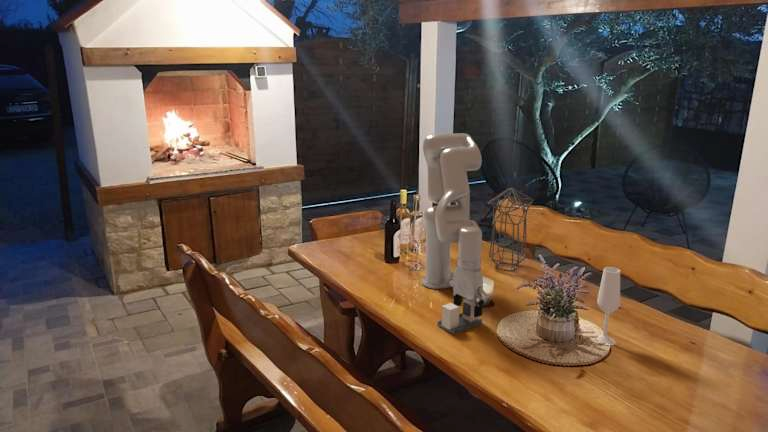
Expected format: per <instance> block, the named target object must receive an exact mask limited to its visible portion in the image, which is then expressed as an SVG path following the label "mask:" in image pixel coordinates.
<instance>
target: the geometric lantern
mask: <svg viewBox="0 0 768 432" xmlns="http://www.w3.org/2000/svg"><path fill="white" fill-rule="evenodd" d="M511 194H512V195H513V196H511ZM521 195H522V196H523V197H522V196H521ZM502 197H504V198H503V199H502V201H501V202H500V200H501V198H502ZM511 199H513V200H514V201H513V200H511ZM505 200H507V201H506V205H504V206H503V205H502V204H503V203H504V202H505ZM518 201H519V202H518ZM534 201H535V199H533V198H532V197H530V196H527V195H526V194H525V193H523V192H521V191H519V190H517V189H516V188H515V187H507V188H506V189H505V190H504V191H502V192H500V193H499V194H498V195H497V196H495V197H493V198H492V199H490V200H489V201H487V202H486V203H487V204H488V205H490V206H492V207H493V209H492V211H493V212H492V214H493V215H492V219H493V220H492V221H493V224H492V232H491V239H490V246H489V247H490V248H489V256H488V259H489V260H490V261H491V262H492V263H493V264H494V268H495V269H497V270H502V271H509V272H515V271H516V269H518V268H519V266H520V263H521V262H523V261H525V259H526V258H527V257H528V253H527V251H528V250H527V214H528V211H529V209H530V207H531V205H532V204H533V203H534ZM509 202H510V203H511V205H510V206H509ZM515 202H516V203H515ZM497 207H498V208H497ZM526 207H527V208H526ZM502 208H504V211H503V209H502ZM507 209H508V210H507ZM519 209H521V210H522V213H523V214H522V215H517V214H509V213H512V212H514V211H518V210H519ZM495 210H497V211H498V212H499V215H497V216H495ZM504 216H505V221H503V217H504ZM511 216H512V217H513V216H514V217H518V218H520V219H519V221H518V223H515V222H514V221H513V220H512V218H511ZM499 217H501V218H500V220H498V219H499ZM508 218H509V220H510V221H511V222H507V220H508ZM522 218H523V219H522ZM496 223H500V225H499V235H498V242H497V243H498V244H497V250H496V251H495V252H494V249H495V238H496V237H495V235H496ZM521 223H523V235H522V253H521V252H519V251H520V231H519V230H520V224H521ZM503 224H504V234H503V236H504V237H503V247H502V249H500V244H501V243H500V242H501V235H502V226H503ZM507 225H512V240H511V241H512V242H511V243H512V244H511V248H512V249H511V251H510V250H505V248H506V247H505V246H506V245H505V244H506V235H507ZM515 226H517V227H516V228H517V237H516V238H517V243H516V244H517V245H516V246H517V247H516V248H517V249H516V250H517V252H515V251H514V248H515V245H514V244H515ZM500 252H502V253H501V255H500ZM504 252H506V253H510V254H511V258H507V257H504ZM496 254H498V256H499V259H498V260H497V259H494V256H495V255H496ZM514 254H517V259H514ZM522 256H523V258H522ZM520 258H521V259H520ZM504 260H508V261H511V262H507V261H504ZM514 261H516V262H515V263H514ZM506 264H507V265H506ZM510 265H511V266H510ZM498 266H501V268H500V267H498ZM502 266H503V267H508V268H511V269H506V268H502Z"/></svg>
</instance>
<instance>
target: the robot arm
mask: <svg viewBox="0 0 768 432" xmlns="http://www.w3.org/2000/svg"><path fill="white" fill-rule="evenodd" d="M422 150H423V151H422V152H423V156H424V159H425V161H426V165H427V196H428V199H429V200H430V202H432V203H436V204H437V205H434V206H429V207H428V208H427V209H425V211H424V213H423V222H424V229H425V276H424V277H422V279H421V284H422V286H423V287H425V288H429V289H435V290H442V289H448V288H450V290H451V292H452V296H453V304H454V305H456V306H459V307H461V306H463V299H462V298H464V299H465V298H467V299H469V300H474V302H475V305H476V306H474V317H478V316H480V317H481V316H483V306H485V304H486V303H487V301H488V299H489V295H488V293H486V292H485V290H484V280H483V279H484V278H483V277H484V276H483V270H482V269H481V268H482V245H483V243H482V241H483V230H482V229H481V228H480V226H479V225H478V223H477V222H476V221H475V220H472V219H470V215H471V214H470V213H471V212H470V207H471V206H470V204H471V202H470V201H471V197H470V196H471V191H470V190H471V189H470V185H469V180H468V173H467V172H469V171H470V172H472V171H478V170H479V169H480V168H481V166H482V162H483V160H482V159H483V158H482V154H481V150H480V149H479V147H478V145H477V143H476V142H475V140H474V139H473V138H472V136H471V135H470V134H468V133H466V132H465V133H464V132H462V133H461V132H460V133H436V134H429V135H427V136H426V137H425V138H424V140H423V142H422ZM449 203H455V204H452V205H451V204H450V205H448V204H449ZM451 244H458V246H457V248H458V249H457V250H458V251H457V252H458V253H457V258H456V260H457V264H456V266H455V269H454V270H453V271H452V270H451ZM477 299H479V302H478V300H477Z"/></svg>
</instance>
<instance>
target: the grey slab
mask: <svg viewBox="0 0 768 432" xmlns="http://www.w3.org/2000/svg"><path fill="white" fill-rule="evenodd" d="M441 324H442V319H441V320H438V321H437V327H439V328H440V329H442V330H444V331H446V332H449V334H452V335H453V336H454V335H457V334H459V333H462V332H464V331H467V330H470V329H472V328H475V327H478V326H480V325H482V324H483V319H482V318H480V319H478V320H475V321H473V322H470V321H468V320H466V319H464V318H463V312H461V313H460V312H459V326H458V327H455V328H453V329H450V330H449V329H448V328H446V327H444V326H442V325H441Z"/></svg>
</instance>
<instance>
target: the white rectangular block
mask: <svg viewBox="0 0 768 432" xmlns="http://www.w3.org/2000/svg"><path fill="white" fill-rule="evenodd" d="M477 300H478V302H479V299H477ZM474 306H476V305H475V302H474V300H469V299H467V298H465V297H464V298H463V299H462V313H463V318H464V319H466V320H468V321H470V322H473V321H475V320H478V319H481V318H480V317H481V316H478V317H474Z"/></svg>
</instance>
